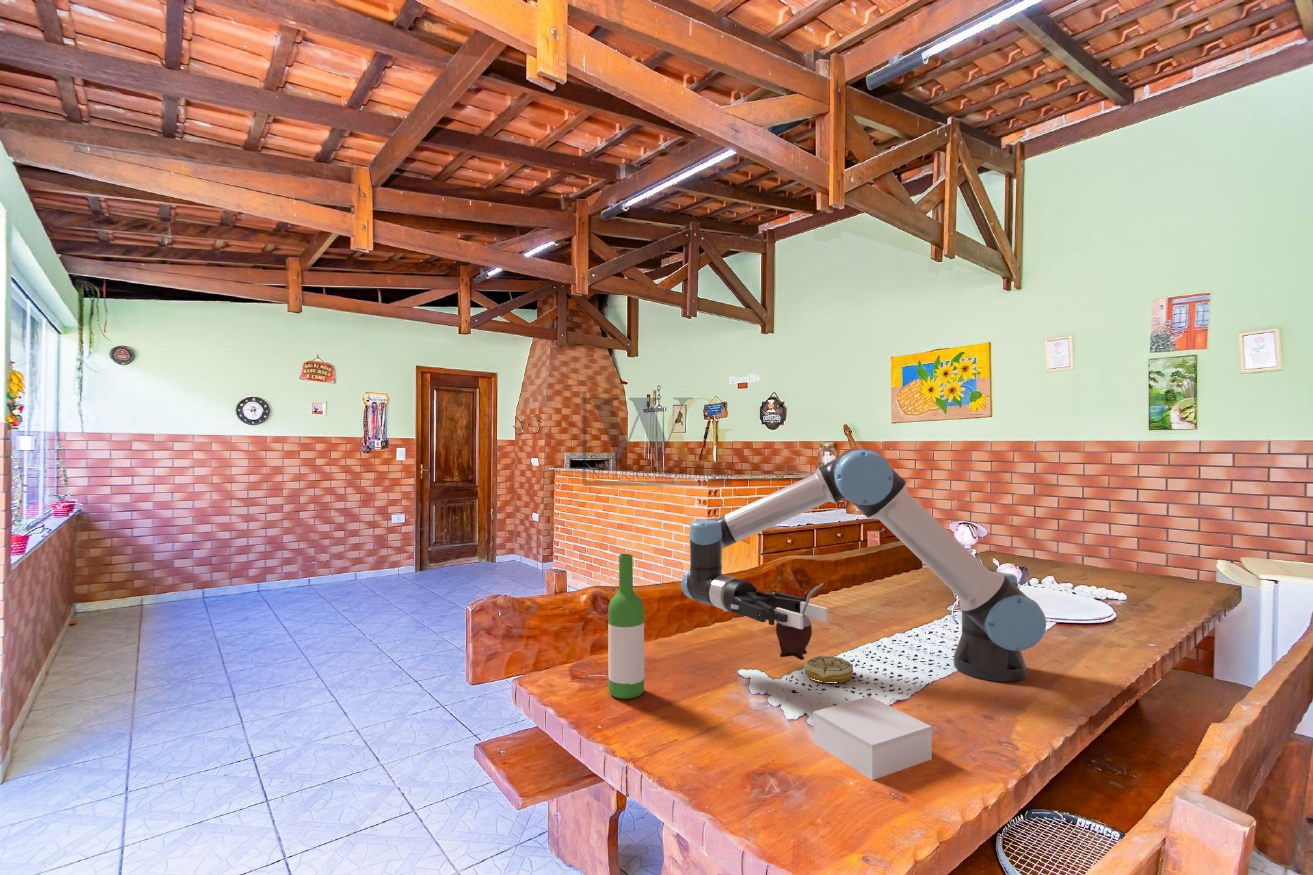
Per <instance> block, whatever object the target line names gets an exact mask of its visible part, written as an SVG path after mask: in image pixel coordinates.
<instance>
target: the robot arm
mask: <svg viewBox="0 0 1313 875" xmlns="http://www.w3.org/2000/svg"><path fill="white" fill-rule="evenodd" d="M843 500H844V501H845V500H847V501H849V502H850V503H851V504H853V505H854V506H855V508H856V509H858V510H859V511H860V512H861V513H862V514H863V515H864V516H865V517H866V518H867V519H870V520H871V519H873V520H879V521H880V523H882V524H883V525H884V526H885V527H886V528H887V529H888V530H889V531H890V532H891V533H892V534H893V535H894V536H895V537H896V538H897V539H898V540H900V542H902V544H904V545H905V547H906V548H908V549H909V550H910V551H911V552H912V553H913V554H914V556H916V557H917V558H918V559H919V560H920V561H921V562H922V563H923V564H924V565H925V566H926V567H927V568H929V570H930V571H931V572H932V573H934V574H935V576H936V577H938V578H939V580H940V581H941V582H943V584H945V585H946V586H947V587H948V588H949V589H950V590H951V591H952V592H953V593H954V594H955V595H956V596H957V597H958V598H959V608H960V609H961V635H960V637H959V641H958V643H957V645H956V649H955V651H954V655H953V666H954V667H955V669H956V670H958V671H959V672H961V673H963V674H965V675H967V676H970V677H972V678H973V677H974V678H977V679H980V680H987V681H991V682H992V681H993V682H1006V683H1007V682H1008V683H1009V682H1010V683H1011V682H1017V681H1022V680H1024V679H1025V678H1027V664H1026V660H1025V658H1024V656H1023V652H1022V651H1026V650H1030V649H1031V648H1033V647H1035V646H1036V645H1038V643H1040V641H1041V640H1042V639H1043V637H1044V636H1045V634H1046V628H1047V618H1046V616H1045V613H1044V611H1043V609H1042V608H1041V607H1040V605H1039V603H1037V601H1035V600H1034V599H1032V598H1030V597H1028V596H1027V595H1026V594H1025V593H1024V592H1023V591H1022V590H1021V589H1019V588H1018V587H1019V583H1018V577H1017V576H1016V575H1015V574H1011V573H1008V572H1007V573H1006V572H1002V571H991V570H989V568H987V567H986V566H985V565H984V564H983V563H982V562H981V561H979V559H978V558H977V557H975V555H973V553H971V552H970V550H968V549H967V548H966V547H965V546H964V545H963V544H962V543H960V541H959V540H958V539H957V538H955V536H954V535H953V534H951V532H949V531H948V530H947V529H946V527H944V526H943V525H942V524H941V522H939V521H938V520H937V519H936V518H935V517H933V515H932V514H931V513H929V511H927V510H926V509H925V508H924V507H923V506H922V505H921V504H920V503H919V502H918V501H917V500H916V499H915V498H913V497H912V495H911V494H910V493H909V492H908V483H907V481H906V480H905V479H904V478H903V477H902V476H900V474H898V472H897V471H895V469H893V468H892V467H891V465H890V464H889V462H888V460H886V458H884V456H882V455H881V454H880V453H878V452H876V451H873V450H870V449H862V448H854V449H850V450H846V451H845V452H843V453H842V454H840V455H839V456H837V457H835V458H834V459H833V460H831V461H829V462H827V463H825V464H824V465H821V466H819V467H817V468H816V470H815V473H813V474H812V475H809V476H807V477H805V478H802V479H800V480H798V481H796V482H794V483H792V484H789V485H787V486H785V487H783V488H781V489H778V490H776V491H774V492H772V493H770V494H767V495H765V496H763V497H761V498H759V499H756V500H754V501H752V502H751V503H748V504H745V505H743V506H741V507H739V508H738V509H735V510H732V511H730V512H728V513H725V515H723V516H720V517H717V518H716V519H715V518H714V519H699V520H698V519H697V520H693V521H691V523H690V526H689V527H690V529H689V535H688V536H689V537H688V538H689V547H690V548H689V550H690V552H689V555H690V556H689V557H690V564H689V566H690V567H689V569H687V570H686V571H685V572H684V574H683V577H682V579H681V584H680V585H681V589H682V592H683V594H684V596H686V597H687V598H689V599H691V600H694V601H695V602H697V603H701V604H705V605H709V606H712V607H715V608H717V609H722V610H723V612H725V613H726V612H730V613H733V614H735V615H739V616H745V617H747V618H750V619H752V620H755V621H758V622H760V623H765V622H767V621H768V625H769V626H774V625H775V623H777V622H779V623H782V624H785V625H788V626H792V627H795V628H798V629H803V614H799V613H802V610H803V608H804V605H805V603H806V600H807V597H805V596H802V597H801V596H798V595H792V594H787V593H783V592H779V591H777V590H776V589H775V590H772V591H771V592H765V591H763V590H757V588H756V587H755V585H754V584H753V583H752V582H751V581H749V580H745V579H741V578H738V577H734V576H730V575H725V574H722V573H723V569H722V568H723V565H722V562H723V559H722V558H723V557H722V556H723V553H722V551H723V549H726V548H727V547H729V546H732V545H734V544H736V543H737V542H739V541H742V540H744V539H747V538H749V537H751V536H753V535H756V534H758V533H760V532H762V531H765V530H767V529H769V528H771V527H774V526H776V525H778V524H781V523H783V522H785V521H788V520H791V519H792V518H795V517H797V516H800V515H801V514H803V513H805V512H808V511H810V510H813V509H814V508H817V507H820V506H823V505H824V504H826V503H829V502H830V503H833V504H837V503H838V502H841V501H843ZM796 612H798V613H796ZM804 614H805V615H806V616H807V617H808V618H809V619H812V620H816V621H820V622H822V623H828V622H829V608H828V607H824V606H820V605H817V604H813V603H810V602H809V603H808V605H807V608H806V611H805V613H804ZM766 620H767V621H766Z"/></svg>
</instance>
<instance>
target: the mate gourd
mask: <svg viewBox="0 0 1313 875" xmlns="http://www.w3.org/2000/svg"><path fill="white" fill-rule="evenodd" d="M822 586H824V583H820V584H819V585H817V586H815V587H813V589H811V590H810V592H808V594H807V596H806V598H807V600H806V603H805V605H804V608H803V610H802V613H799V614H803V629H798V628H795V627H792V626H788V625H785V624H782V623H779V622H776V623H775V624H776V625H775V633H776V634H775V635H776V637H777V639H778V643H779V648H780V652H781V653H779V657H781V658H786V657H795V658H797V659H798V660H800V661H803V660H805V657H804V655H806V654H808V651H807V650H806V648H807V647H808V645H809V643H810V640H811V639H812V634H813V633H812V632H813V629H812V622H811V620H810V618H809V617H807V616H806V615H805V614H804V613H805V611H806V608H807V605H808V603H810V600H811V599H812V597H813V594H814V593H815V592H816V591H817V590H818V589H820V588H821V587H822ZM796 613H798V612H796Z"/></svg>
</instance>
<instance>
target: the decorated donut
mask: <svg viewBox="0 0 1313 875" xmlns="http://www.w3.org/2000/svg"><path fill="white" fill-rule="evenodd" d="M803 667H804V670H805V673H806V675H808V676H807V677H808V678H809V677H810V678H812V679H815V680H819V681H822V682H833V683H834V682H842V683H847V682H848V681H849V680H850V679H851V678H852V676H853V673H854V669H853V668H854V665H853V664H852V663H851V662H850V661H848V660H845V659H843V658H841V657H838V656H833V655H819V656H815V657H812V658H810V659H808V660H807V661H806V662H805V663H804V665H803ZM810 678H809V679H810ZM834 684H835V683H834Z"/></svg>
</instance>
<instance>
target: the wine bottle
mask: <svg viewBox="0 0 1313 875" xmlns="http://www.w3.org/2000/svg"><path fill="white" fill-rule="evenodd" d="M633 568H634V567H633V555H632V554H631V553H620V554H619V556H618V592H617V593H615V594H614V596H613V597H612V598H611V599H610V601H609V604H608V611H607V612H608V614H607V616H608V617H607V618H608V620H607V621H608V622H607V624H608V625H607V628H608V629H607V630H608V631H607V632H608V633H607V635H608V636H607V638H608V639H607V640H608V641H607V642H608V643H607V644H608V650H607V652H608V653H607V654H608V658H607V660H608V661H607V662H608V668H607V669H608V691H609V693H610V695H611V696H612V697H613V698H616V699H620V700H631V699H634V698H637V697H640V696H641V695H642V694H643V692H644V689H645V622H644V621H645V618H644V616H645V613H644V612H645V609H644V604H643V601H642V599H641V598H640V596H639V595H638V594H637V593H636V592H635V591H634V586H633V585H634V575H633V571H634V570H633Z"/></svg>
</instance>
